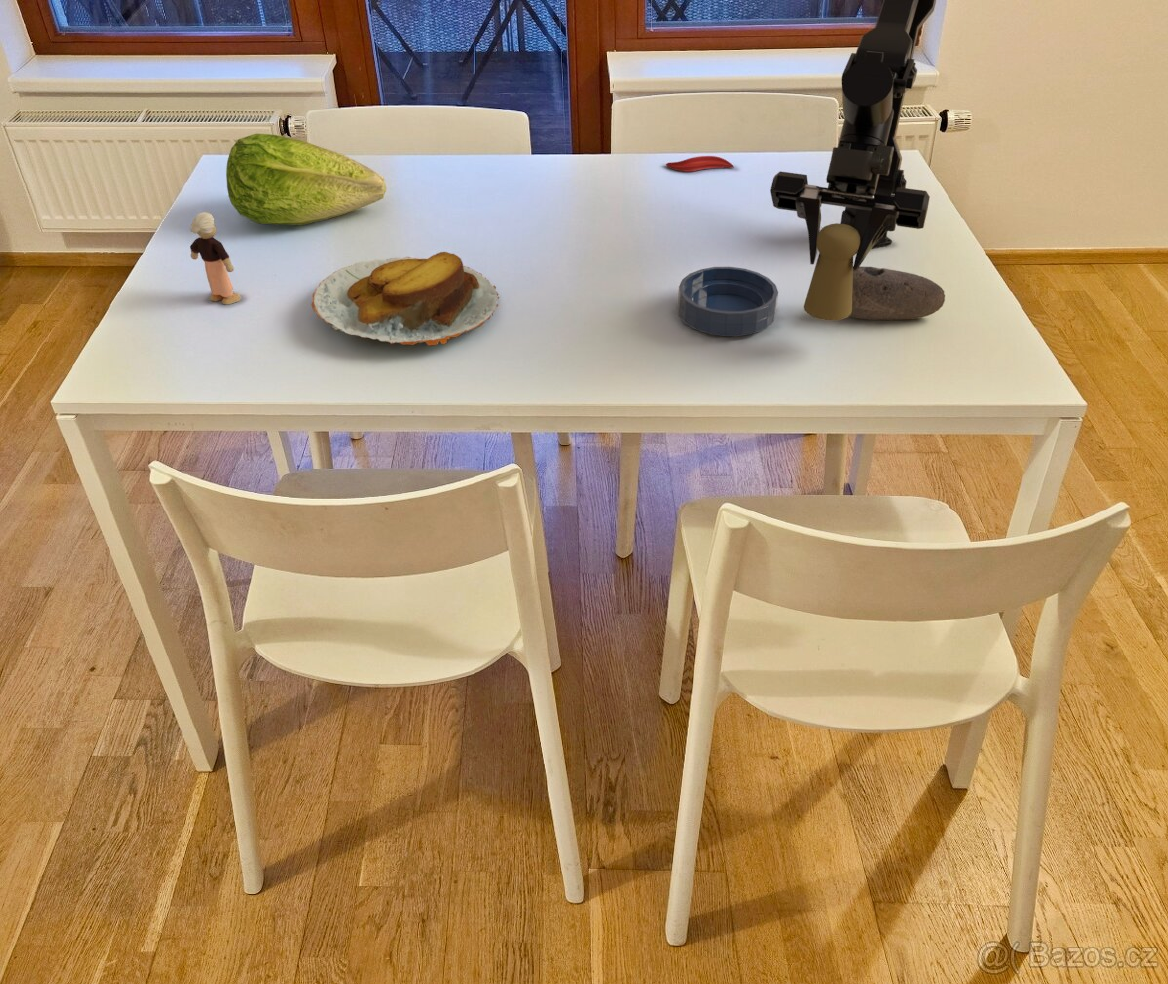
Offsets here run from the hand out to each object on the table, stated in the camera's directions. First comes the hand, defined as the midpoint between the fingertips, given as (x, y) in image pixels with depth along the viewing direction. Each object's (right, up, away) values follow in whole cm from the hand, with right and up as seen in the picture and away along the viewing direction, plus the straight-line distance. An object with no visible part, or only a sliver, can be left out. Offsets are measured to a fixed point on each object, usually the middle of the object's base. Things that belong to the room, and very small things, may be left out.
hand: (832, 266), depth 126 cm
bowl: (-11, -3, +16) cm, 19 cm away
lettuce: (-74, +17, +41) cm, 87 cm away
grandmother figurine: (-82, 0, +20) cm, 84 cm away
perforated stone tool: (+11, -4, +15) cm, 19 cm away
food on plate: (-55, -3, +17) cm, 58 cm away
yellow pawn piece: (+1, -4, +5) cm, 7 cm away
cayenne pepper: (-12, +44, +45) cm, 65 cm away
